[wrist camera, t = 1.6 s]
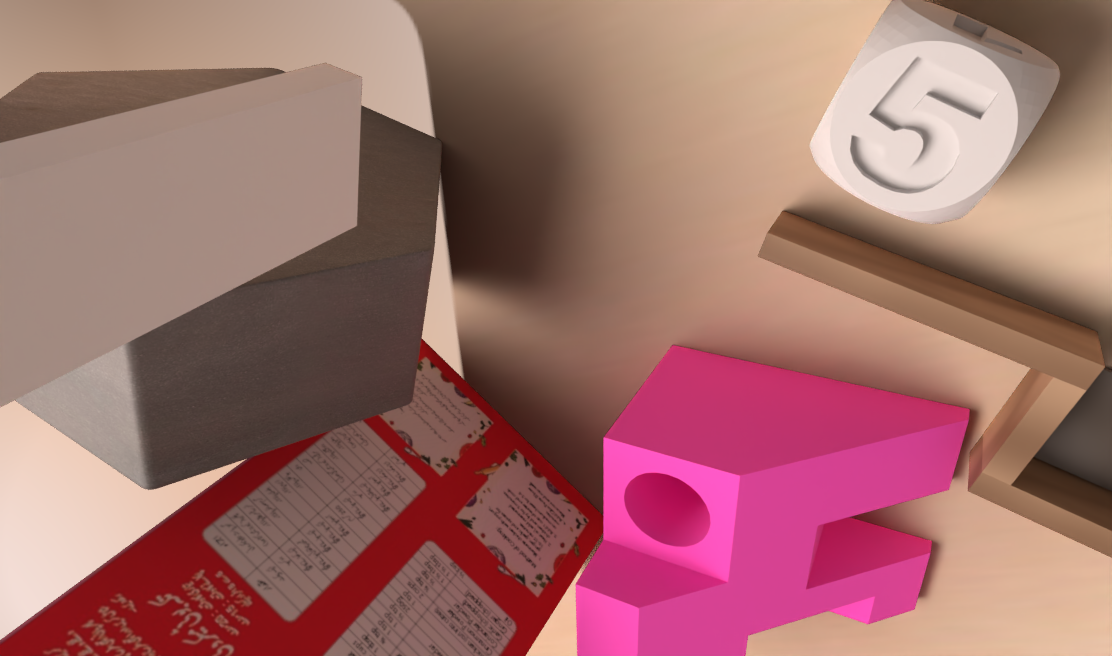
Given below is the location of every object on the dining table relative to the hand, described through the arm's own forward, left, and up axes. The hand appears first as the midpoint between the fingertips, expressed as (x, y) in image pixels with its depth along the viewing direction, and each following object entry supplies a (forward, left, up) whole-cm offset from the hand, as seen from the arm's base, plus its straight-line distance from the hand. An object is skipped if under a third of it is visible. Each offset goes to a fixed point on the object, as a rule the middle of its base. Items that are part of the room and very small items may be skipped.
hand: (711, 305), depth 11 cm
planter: (+12, -21, -19) cm, 31 cm away
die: (0, +2, -19) cm, 19 cm away
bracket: (+17, +4, -19) cm, 26 cm away
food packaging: (+25, -11, -19) cm, 33 cm away
